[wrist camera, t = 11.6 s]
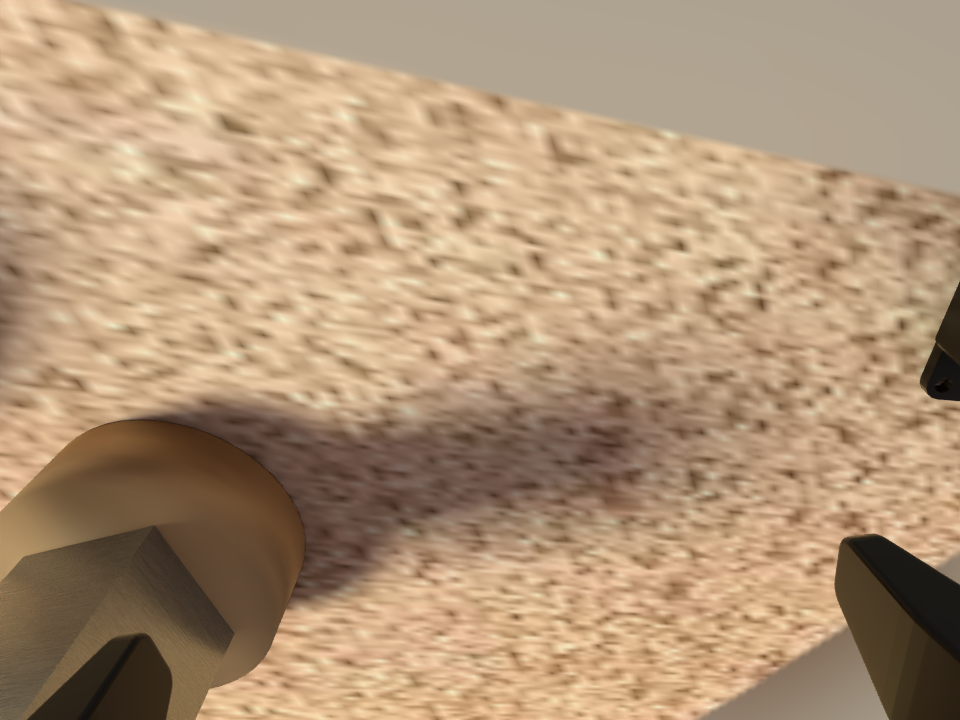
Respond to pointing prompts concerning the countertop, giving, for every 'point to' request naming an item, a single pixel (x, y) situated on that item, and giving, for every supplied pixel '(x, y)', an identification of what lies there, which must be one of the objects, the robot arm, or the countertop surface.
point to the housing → (105, 618)
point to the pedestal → (173, 519)
